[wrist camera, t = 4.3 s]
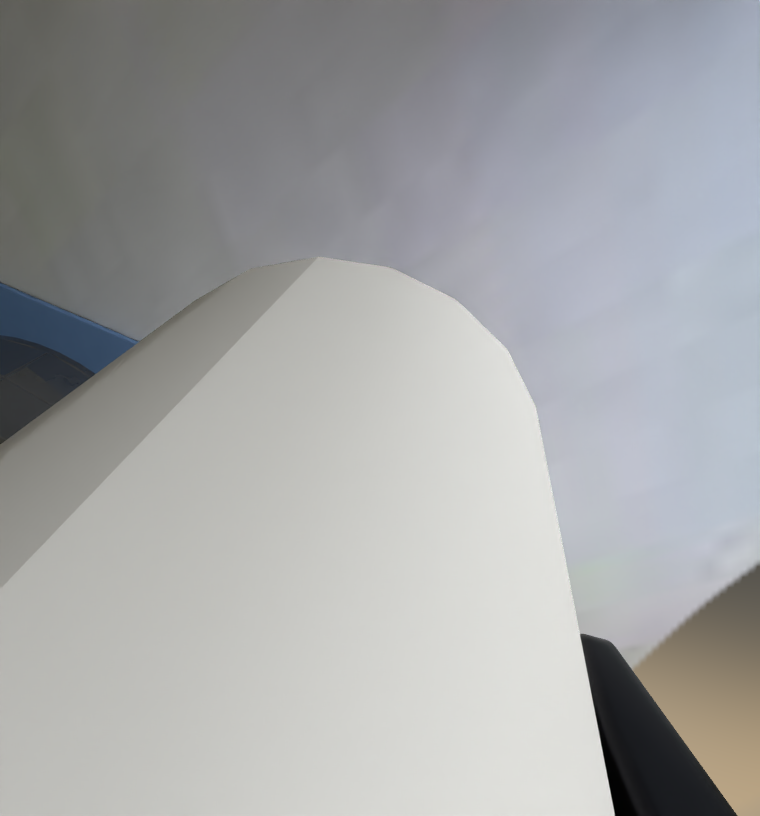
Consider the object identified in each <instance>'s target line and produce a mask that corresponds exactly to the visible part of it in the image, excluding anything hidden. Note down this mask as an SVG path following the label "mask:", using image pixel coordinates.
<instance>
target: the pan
mask: <svg viewBox="0 0 760 816" xmlns="http://www.w3.org/2000/svg"><path fill="white" fill-rule="evenodd" d="M94 375H95V373H93V372H92V371H91V370H89V369H88V368H86V367H85V366H83V365H82V364H80V363H78V362H76V361H75V360H73V359H71V358H69V357H67V356H65V355H63V354H61V353H60V352H57V351H55V350H52V349H50V348H47V347H45V346H42V345H40V344H38V343H34V342H30V341H27V340H23V339H20V338H16V337H10V336H3V335H0V444H2V443H3V442H4V441H6V440H7V439H9V438H10V437H11V436H13V435H14V434H15V433H17V432H18V431H19V430H21V429H22V428H23V427H25V426H26V425H27V424H29V423H30V422H32V421H33V420H34V419H36V418H37V417H38V416H40V415H41V414H42V413H44V412H45V411H46V410H48V409H49V408H50V407H52V406H53V405H55V404H56V403H57V402H59V401H60V400H61V399H63V398H64V397H65V396H67V395H68V394H69V393H71V392H72V391H73V390H75V389H76V388H77V387H79V386H80V385H82V384H83V383H84V382H86V381H87V380H88V379H90V378H91V377H92V376H94Z"/></svg>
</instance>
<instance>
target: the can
mask: <svg viewBox="0 0 760 816" xmlns="http://www.w3.org/2000/svg"><path fill="white" fill-rule="evenodd" d="M0 816H615V813H614V808H613V803H612V798H611V793H610V787H609V782H608V777H607V772H606V767H605V762H604V756H603V751H602V746H601V741H600V736H599V731H598V725H597V720H596V715H595V710H594V705H593V700H592V694H591V689H590V684H589V679H588V674H587V669H586V663H585V658H584V653H583V648H582V643H581V638H580V632H579V627H578V622H577V617H576V612H575V607H574V601H573V596H572V591H571V586H570V581H569V575H568V570H567V565H566V560H565V555H564V550H563V544H562V539H561V534H560V529H559V524H558V519H557V513H556V508H555V503H554V498H553V493H552V488H551V482H550V477H549V472H548V467H547V462H546V457H545V451H544V446H543V441H542V436H541V431H540V426H539V420H538V415H537V410H536V406H535V404H534V402H533V400H532V398H531V396H530V394H529V392H528V390H527V388H526V386H525V384H524V382H523V380H522V378H521V376H520V374H519V372H518V370H517V368H516V366H515V364H514V362H513V360H512V358H511V356H510V354H509V352H508V350H507V349H506V348H505V347H504V346H503V345H502V344H501V343H500V342H499V341H498V340H497V339H496V338H495V337H494V336H493V335H492V334H491V333H490V332H489V331H488V330H487V329H486V328H485V327H484V326H483V325H482V324H481V323H480V322H479V321H478V320H477V319H476V318H475V317H474V316H473V315H472V314H471V313H470V312H469V311H468V310H467V309H466V308H464V307H463V306H462V305H461V304H460V303H459V302H458V301H457V300H456V299H454V298H452V297H450V296H448V295H446V294H444V293H442V292H440V291H438V290H436V289H434V288H432V287H429V286H427V285H425V284H423V283H421V282H419V281H417V280H415V279H413V278H411V277H409V276H407V275H405V274H403V273H401V272H399V271H397V270H395V269H393V268H391V267H385V266H378V265H371V264H365V263H358V262H351V261H345V260H338V259H331V258H325V257H314V258H308V259H302V260H297V261H291V262H285V263H280V264H274V265H268V266H262V267H257V268H251V269H249V270H247V271H246V272H244V273H242V274H240V275H239V276H237V277H235V278H233V279H232V280H230V281H228V282H226V283H225V284H223V285H221V286H219V287H218V288H216V289H214V290H212V291H211V292H209V293H207V294H205V295H204V296H202V297H200V298H199V299H197V300H195V301H194V302H192V303H191V304H190V305H188V306H187V307H186V308H184V309H183V310H182V311H180V312H179V313H178V314H176V315H175V316H174V317H172V318H171V319H169V320H168V321H167V322H165V323H164V324H163V325H161V326H160V327H159V328H157V329H156V330H155V331H153V332H152V333H151V334H149V335H148V336H146V337H145V338H144V339H142V340H141V341H140V342H138V343H137V344H136V345H134V346H133V347H132V348H130V349H129V350H128V351H126V352H125V353H123V354H122V355H121V356H119V357H118V358H117V359H115V360H114V361H113V362H111V363H110V364H109V365H107V366H106V367H105V368H103V369H102V370H100V371H99V372H98V373H96V374H95V375H94V376H92V377H91V378H90V379H88V380H87V381H86V382H84V383H83V384H82V385H80V386H79V387H77V388H76V389H75V390H73V391H72V392H71V393H69V394H68V395H67V396H65V397H64V398H63V399H61V400H60V401H59V402H57V403H56V404H55V405H53V406H52V407H50V408H49V409H48V410H46V411H45V412H44V413H42V414H41V415H40V416H38V417H37V418H36V419H34V420H33V421H32V422H30V423H29V424H27V425H26V426H25V427H23V428H22V429H21V430H19V431H18V432H17V433H15V434H14V435H13V436H11V437H10V438H9V439H7V440H6V441H4V442H3V443H2V444H0Z"/></svg>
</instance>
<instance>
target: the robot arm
mask: <svg viewBox="0 0 760 816" xmlns="http://www.w3.org/2000/svg"><path fill="white" fill-rule="evenodd" d="M580 638H581V643H582V648H583V653H584V658H585V663H586V669H587V674H588V679H589V684H590V689H591V694H592V700H593V705H594V710H595V715H596V720H597V725H598V731H599V736H600V741H601V746H602V751H603V756H604V762H605V767H606V772H607V777H608V782H609V787H610V793H611V798H612V803H613V808H614V813H615V816H737V815H736V813H735V812H734V810H733V809H732V808H731V806H730V805H729V804H728V802H727V801H726V799H725V798H724V797H723V795H722V794H721V793H720V791H719V790H718V788H717V787H716V785H715V784H714V783H713V781H712V780H711V779H710V777H709V776H708V774H707V773H706V772H705V770H704V769H703V767H702V766H701V765H700V764H699V762H698V761H697V759H696V758H695V756H694V755H693V754H692V752H691V751H690V750H689V748H688V747H687V745H686V744H685V743H684V741H683V740H682V738H681V737H680V736H679V734H678V733H677V732H676V730H675V729H674V727H673V726H672V725H671V723H670V722H669V721H668V719H667V718H666V716H665V715H664V714H663V712H662V711H661V709H660V708H659V707H658V705H657V704H656V702H654V700H653V698H652V697H651V696H650V694H649V693H648V692H647V690H646V689H645V687H644V686H643V685H642V683H641V682H640V680H639V679H638V678H637V676H636V675H635V673H634V672H633V671H632V669H631V668H630V666H629V665H628V664H627V662H626V661H625V660H624V658H623V657H622V655H621V654H620V653H619V651H618V650H617V649H616V647H615V646H614V645H613V644H612V643H611V642H609V641H607V640H605V639H601V638H597V637H594V636H590V635H586V634H580Z"/></svg>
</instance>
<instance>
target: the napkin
mask: <svg viewBox="0 0 760 816" xmlns="http://www.w3.org/2000/svg"><path fill="white" fill-rule="evenodd" d="M0 335H3V336H10V337H16V338H20V339H23V340H27V341H30V342H34V343H38V344H40V345H42V346H45V347H47V348H50V349H52V350H55V351H57V352H60V353H61V354H63V355H65V356H67V357H69V358H71V359H73V360H75V361H76V362H78V363H80V364H82V365H83V366H85V367H86V368H88V369H89V370H91V371H92V372H93V373H95V374H96V373H98V372H99V371H100V370H102V369H103V368H105V367H106V366H107V365H109V364H110V363H111V362H113V361H114V360H115V359H117V358H118V357H119V356H121V355H122V354H123V353H125V352H126V351H128V350H129V349H130V348H132V347H133V346H134V345H136V344H137V343H138V341H136V340H133V339H131V338H129V337H126V336H124V335H122V334H119V333H117V332H115V331H112V330H110V329H108V328H105V327H103V326H101V325H98V324H96V323H94V322H91V321H89V320H87V319H84V318H82V317H80V316H77V315H75V314H73V313H70V312H68V311H66V310H63V309H61V308H58V307H56V306H54V305H51V304H49V303H47V302H44V301H42V300H40V299H37V298H35V297H33V296H30V295H28V294H26V293H23V292H21V291H19V290H16V289H14V288H12V287H9V286H7V285H5V284H2V283H0Z"/></svg>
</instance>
